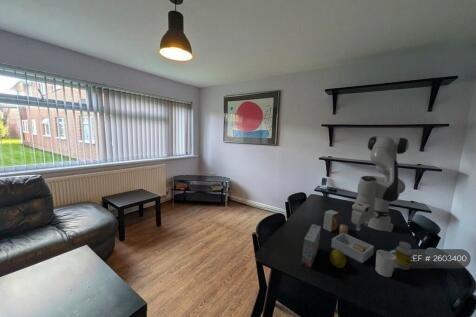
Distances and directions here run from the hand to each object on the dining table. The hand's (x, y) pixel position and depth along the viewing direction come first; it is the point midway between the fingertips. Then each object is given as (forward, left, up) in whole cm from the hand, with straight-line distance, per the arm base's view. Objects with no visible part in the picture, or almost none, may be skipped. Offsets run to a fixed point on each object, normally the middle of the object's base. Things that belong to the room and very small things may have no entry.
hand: (361, 227), depth 110 cm
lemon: (+20, -2, -17) cm, 26 cm away
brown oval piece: (-14, -16, -17) cm, 27 cm away
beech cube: (0, 0, -16) cm, 16 cm away
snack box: (+26, -14, -17) cm, 34 cm away
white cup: (+5, +14, -17) cm, 22 cm away
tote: (0, -4, -17) cm, 17 cm away
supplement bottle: (-10, +17, -17) cm, 26 cm away
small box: (-15, -26, -17) cm, 34 cm away
